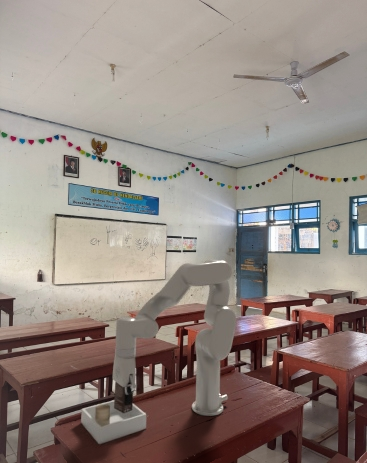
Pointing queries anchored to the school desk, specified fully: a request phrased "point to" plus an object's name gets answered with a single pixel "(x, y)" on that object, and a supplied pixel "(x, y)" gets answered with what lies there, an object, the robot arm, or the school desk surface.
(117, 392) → the box
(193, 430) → the school desk surface
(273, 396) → the school desk surface
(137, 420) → the tote
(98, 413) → the beige piece
